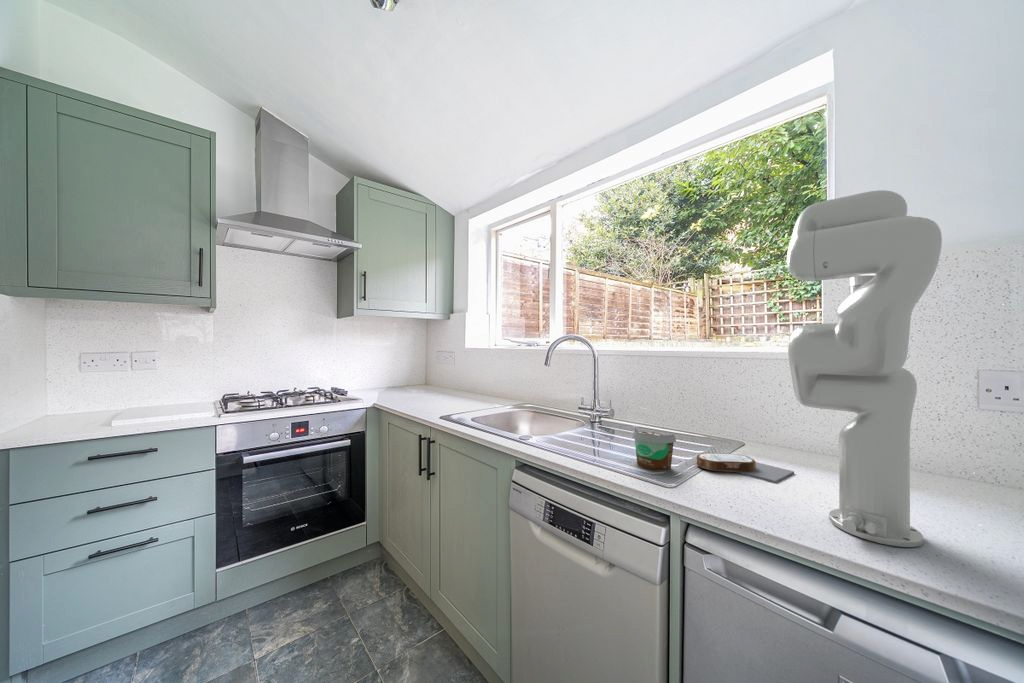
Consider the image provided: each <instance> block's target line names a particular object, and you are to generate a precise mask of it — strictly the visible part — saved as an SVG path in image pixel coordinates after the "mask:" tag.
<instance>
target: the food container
mask: <svg viewBox="0 0 1024 683" xmlns="http://www.w3.org/2000/svg"><path fill="white" fill-rule="evenodd" d="M631 436H632V438H633V439H634V445H635V446H634V447H635V454H636V455H635V456H636V464H637V466H639V467H640V468H642V469H645V470H649V471H656V472H659V471H661V472H663V471H669V470H671V469H672V461H673V453H674V452H673V450H674V443H676V442H677V439H676V436H675V433H672V434H668V435H667V434H666V435H664V434H661V433H659V432H658V433H657V432H653V431H652V432H649V431H648V432H647V431H640V430H637V427H634V428H633V431H632V435H631Z"/></svg>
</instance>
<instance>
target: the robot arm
mask: <svg viewBox="0 0 1024 683" xmlns="http://www.w3.org/2000/svg"><path fill="white" fill-rule="evenodd" d="M942 238H943V237H942V231H941V228H940V226H939V224H938V223H936V222H935V221H934V220H933V219H929V218H927V217H922V216H912V215H908V202H906V199H905V198H904V197H903V196H902V195H901V194H899V193H898V192H894V191H892V190H880V189H879V190H870V191H865V192H861V193H855V194H851V195H847V196H843V197H838V198H832V199H828V200H824V201H823V200H821V201H819V202H818V201H817V202H815V203H812V204H810V205H808V206H807V207H805V208H804V209H803V210H802V211H801V213H800V214H799V216H797V219H796V221H795V224H794V225H793V230H792V234H791V237H790V241H789V245H788V248H787V253H786V262H787V263H786V264H787V269H788V272H789V274H790V275H791V276H792V277H793V279H795V280H798V281H801V282H818V281H819V282H820V281H827V280H837V279H838V280H840V279H849V295H848V296H847V297H845V299H844V300H843V301H842V302H841V303H840V305H839V306H838V307H837V308H838V309H837V312H836V314H837V322H836V323H835V322H832V323H812V324H805V325H801V326H799V327H797V328H795V329H794V330H793V331H792V333H791V335H790V337H789V339H788V340H789V341H788V346H787V348H788V349H787V353H788V362H789V370H790V375H791V380H792V388H793V393H794V396H795V398H796V400H797V401H798V402H799V403H800V404H801V405H803V406H805V407H808V408H813V409H821V410H830V411H843V412H848V413H850V412H851V413H855V414H857V416H855V417H854V418H853V419H851V420H849V421H848V422H847V423H845V425H843V427H841V429H840V431H839V436H838V480H839V482H838V492H839V494H838V496H839V497H838V498H839V500H838V503H839V506H838V508H835V509H832V510H830V511H829V512H828V518H829V519H828V520H829V521H830V522H831V523H832V524H833V525H834V526H835V527H837V528H839V529H840V530H842V531H844V532H846V533H848V534H851V535H853V536H855V537H858V538H861V539H864V540H866V541H870V542H875V543H877V544H882V545H887V546H892V547H898V548H899V547H900V548H916V547H920V546H922V545H923V544H924V535H923V534H922V533H921V532H920V531H919V530H918V529H917V528H915V527H913V526H911V478H910V477H911V472H910V471H911V470H910V468H911V466H910V463H911V460H910V458H911V454H910V452H911V450H910V449H911V448H910V447H911V446H910V444H911V423H912V417H913V411H914V407H915V402H916V397H917V390H918V387H917V386H918V383H917V380H916V377H915V376H914V374H913V373H912V372H911V371H909V370H907V369H906V368H904V365H905V364H906V360H907V358H908V352H909V343H910V342H909V341H910V334H911V333H910V331H911V318H912V312H913V311H914V308H915V307H916V305H917V303H918V302H919V301H920V299H921V298H922V296H923V295H924V293H925V291H926V290H927V288H929V285H930V283H931V282H932V279H933V278H934V275H935V273H936V270H937V268H938V265H939V261H940V255H941V251H942V245H943V242H942V241H943V239H942Z"/></svg>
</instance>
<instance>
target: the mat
mask: <svg viewBox="0 0 1024 683" xmlns="http://www.w3.org/2000/svg"><path fill="white" fill-rule="evenodd" d="M755 463H756V470H755V471H753V472H736V473H737V474H740V475H744V476H747V475H748V476H749V477H751V478H754V479H759V480H762V481H766V482H769V483H772V484H777V483H779V482H780V481H782V480H785V479H786V478H788V476H789V477H791V476H792V474H793V475H795V471H793V470H790V469H785V468H783V467H782V468H781V467H778V466H774V465H769V464H765V463H762V462H758V461H757V462H756V461H755ZM790 475H791V476H790Z"/></svg>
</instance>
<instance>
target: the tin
mask: <svg viewBox="0 0 1024 683" xmlns="http://www.w3.org/2000/svg"><path fill="white" fill-rule="evenodd" d="M755 462H756V460H755V459H753V458H752V457H750V456H747V455H743V454H739V453H724V452H722V453H721V452H701V453H698V454H697V455H696V466H698V467H699V468H702V469H705V470H709V471H715V472H733V473H737V472H753V471H755V470H756V463H755Z"/></svg>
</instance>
